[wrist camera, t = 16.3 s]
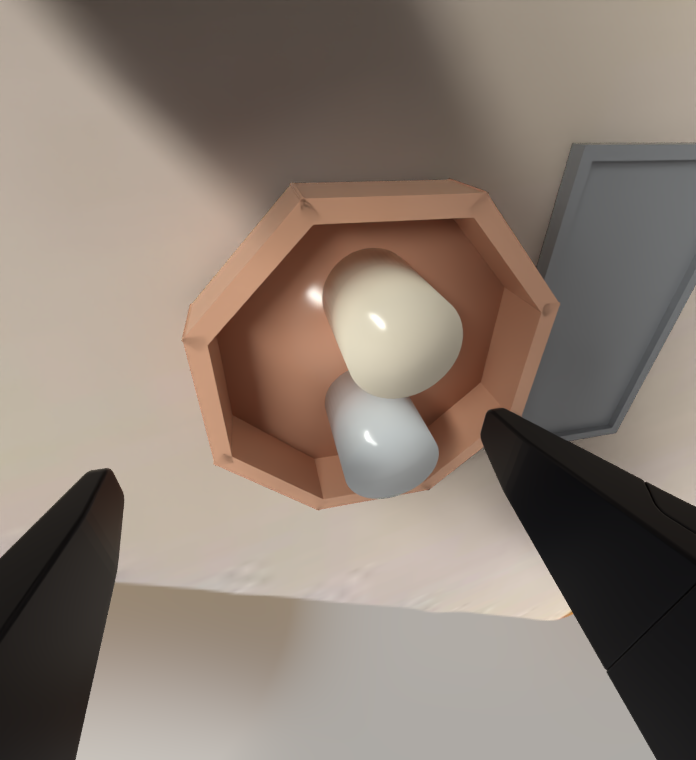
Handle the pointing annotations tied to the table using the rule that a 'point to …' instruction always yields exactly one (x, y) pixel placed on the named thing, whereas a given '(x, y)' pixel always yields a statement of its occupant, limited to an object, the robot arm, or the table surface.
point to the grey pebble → (378, 440)
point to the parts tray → (613, 280)
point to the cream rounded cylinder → (390, 324)
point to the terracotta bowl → (319, 347)
